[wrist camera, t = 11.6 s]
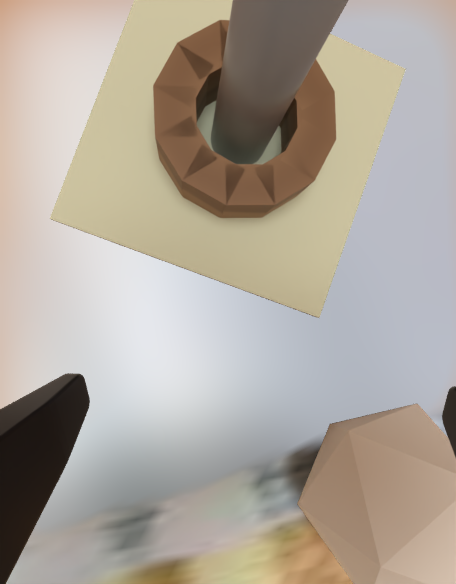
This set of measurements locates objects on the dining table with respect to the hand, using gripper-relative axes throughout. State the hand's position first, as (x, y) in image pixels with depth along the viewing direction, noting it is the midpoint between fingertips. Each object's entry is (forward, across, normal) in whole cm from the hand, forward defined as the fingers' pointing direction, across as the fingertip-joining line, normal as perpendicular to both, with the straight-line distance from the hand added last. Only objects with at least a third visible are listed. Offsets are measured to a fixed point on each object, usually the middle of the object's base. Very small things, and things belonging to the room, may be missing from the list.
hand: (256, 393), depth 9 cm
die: (+9, -6, +13) cm, 17 cm away
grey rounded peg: (+15, +2, -6) cm, 16 cm away
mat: (+16, +2, -5) cm, 16 cm away
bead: (+15, +2, -6) cm, 16 cm away
